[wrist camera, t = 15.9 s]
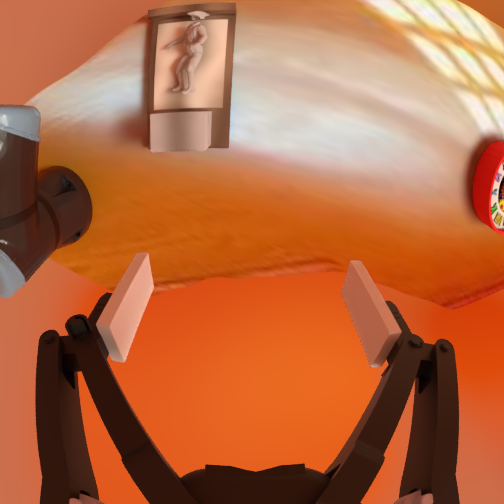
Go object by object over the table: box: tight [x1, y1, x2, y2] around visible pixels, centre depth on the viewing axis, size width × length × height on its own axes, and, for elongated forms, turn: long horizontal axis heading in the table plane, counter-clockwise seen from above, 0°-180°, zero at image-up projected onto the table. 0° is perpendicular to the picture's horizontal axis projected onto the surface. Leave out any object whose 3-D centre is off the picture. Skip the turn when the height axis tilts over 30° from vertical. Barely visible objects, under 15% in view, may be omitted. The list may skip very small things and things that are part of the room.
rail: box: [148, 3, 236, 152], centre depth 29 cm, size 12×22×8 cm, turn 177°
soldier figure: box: [164, 11, 209, 94], centre depth 28 cm, size 8×5×12 cm
